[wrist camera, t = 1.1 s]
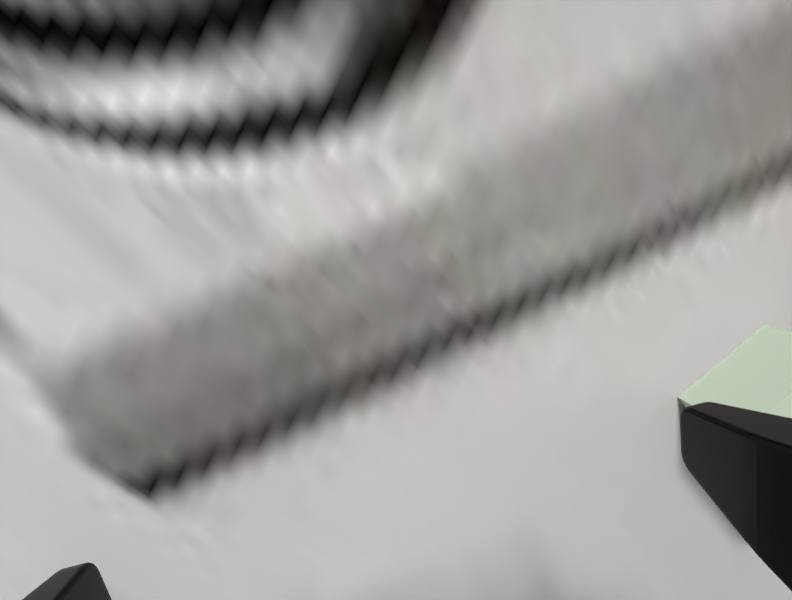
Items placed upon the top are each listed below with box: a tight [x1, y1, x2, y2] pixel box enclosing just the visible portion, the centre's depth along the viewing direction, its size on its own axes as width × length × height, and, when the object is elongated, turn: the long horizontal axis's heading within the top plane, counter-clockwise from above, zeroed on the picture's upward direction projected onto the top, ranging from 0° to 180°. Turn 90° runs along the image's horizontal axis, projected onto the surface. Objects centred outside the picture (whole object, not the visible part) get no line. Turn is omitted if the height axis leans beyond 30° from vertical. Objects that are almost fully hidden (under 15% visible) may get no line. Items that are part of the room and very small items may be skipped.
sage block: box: [678, 324, 792, 418], centre depth 21 cm, size 5×5×4 cm
